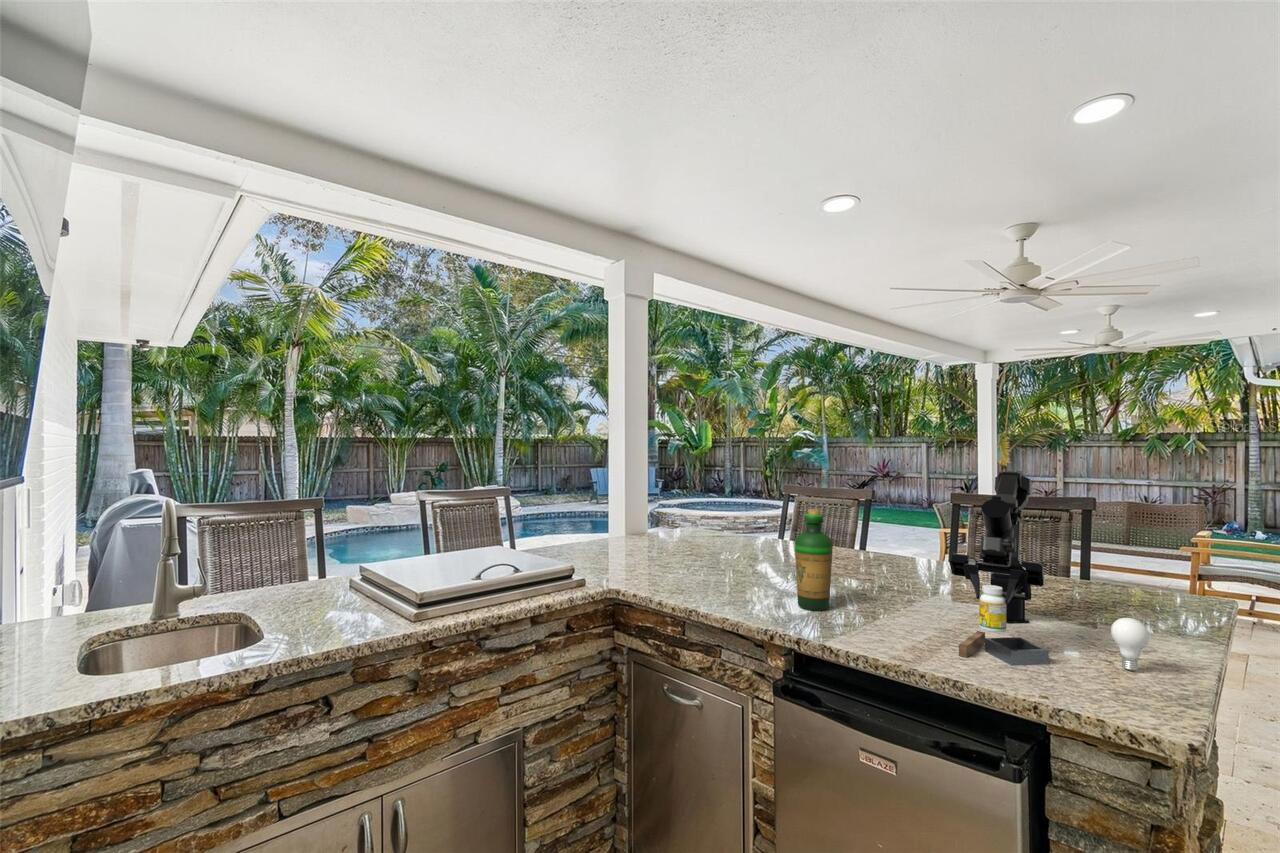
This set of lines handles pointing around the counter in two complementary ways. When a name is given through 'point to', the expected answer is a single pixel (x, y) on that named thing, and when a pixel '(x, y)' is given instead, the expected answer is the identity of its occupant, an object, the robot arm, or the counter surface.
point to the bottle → (813, 564)
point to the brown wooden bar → (971, 644)
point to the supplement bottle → (992, 609)
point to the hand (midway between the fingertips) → (991, 600)
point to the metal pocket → (1016, 651)
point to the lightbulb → (1130, 640)
